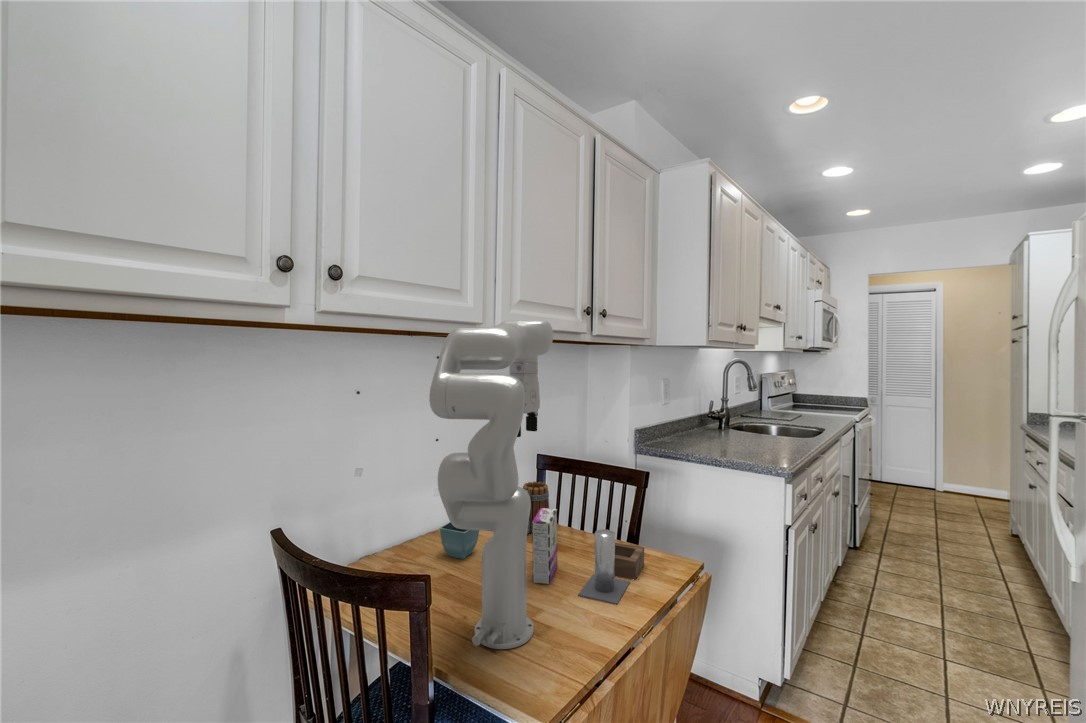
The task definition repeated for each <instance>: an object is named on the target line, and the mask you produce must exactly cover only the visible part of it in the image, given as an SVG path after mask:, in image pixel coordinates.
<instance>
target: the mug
mask: <svg viewBox="0 0 1086 723" xmlns="http://www.w3.org/2000/svg"><path fill="white" fill-rule="evenodd" d="M522 488H523V489H524V490H526V491H527V492H528V494H529V496H530V500H531V508H530V516H529V522H528V530H527V534H531V533H532V521H533V520H534V518H535V517H536V515H537V513H538V512H539V510H540V508H550V498H549V497H550V493H549V492H550V491H549V487H548V484H546V482H542V481H538V482H537V481H529V482H528V481H527V482H526V483H524V484H523V486H522Z"/></svg>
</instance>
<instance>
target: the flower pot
mask: <svg viewBox="0 0 1086 723" xmlns="http://www.w3.org/2000/svg"><path fill="white" fill-rule="evenodd" d="M439 533H440V538H441V539H440V540H441V544H442V547H443V549H444V551H445V553H446V554H447V556H448V557H451V558H456V559H459V560H463V559H465V558H466V557H468V556H469V555H470V554H472V553H473V552H474V550H475V548H476V546H477V543H478V539H479V534H480V530H464V529H458V528H456V527H454V526H453V525H452V524H451V522H450V521H449V522H448V523H446V524H444V525H442V526H440V527H439Z"/></svg>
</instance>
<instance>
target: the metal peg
mask: <svg viewBox="0 0 1086 723" xmlns="http://www.w3.org/2000/svg"><path fill="white" fill-rule="evenodd" d="M615 543H616V533H615V531H613V530H611V529H597V530H595V532H594V574H595V589H596V590H597V591H599V592H602V593H609V592H612V591H614V583H615V577H616V576H615Z"/></svg>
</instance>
